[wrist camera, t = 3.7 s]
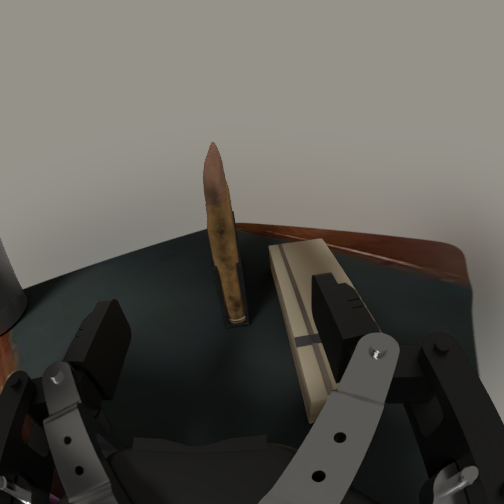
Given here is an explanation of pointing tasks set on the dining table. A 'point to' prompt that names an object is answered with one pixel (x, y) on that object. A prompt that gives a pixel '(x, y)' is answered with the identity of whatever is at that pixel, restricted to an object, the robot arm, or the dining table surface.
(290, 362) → the dining table surface
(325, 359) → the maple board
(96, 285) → the dining table surface
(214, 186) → the ammunition clip
